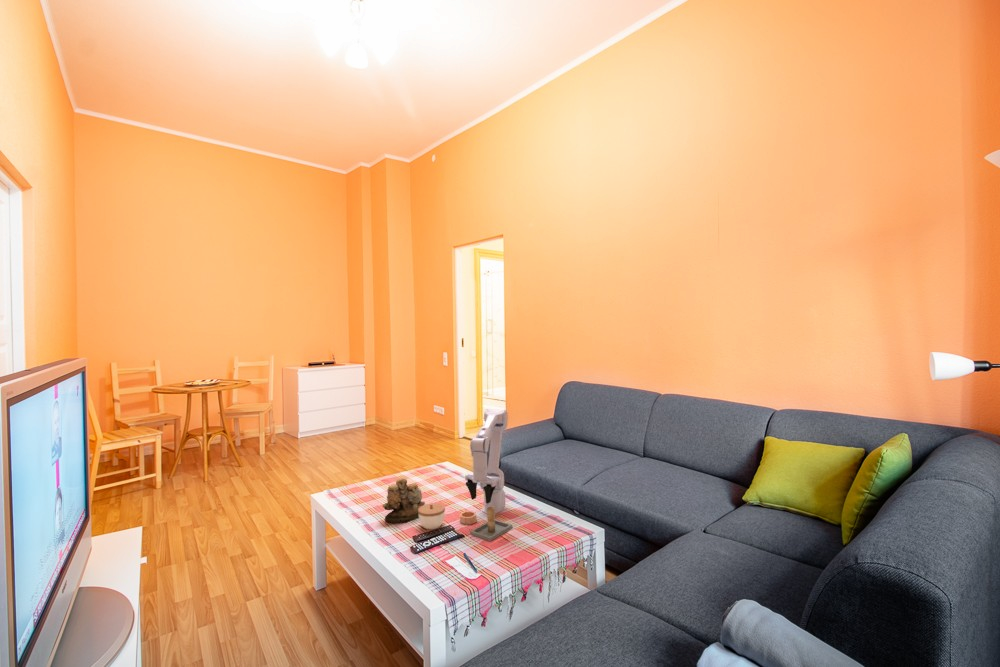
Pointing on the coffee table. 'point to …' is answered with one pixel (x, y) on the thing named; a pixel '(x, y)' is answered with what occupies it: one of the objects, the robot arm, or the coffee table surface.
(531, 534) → the coffee table surface
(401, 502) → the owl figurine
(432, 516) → the lidded jar
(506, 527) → the tray
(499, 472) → the robot arm
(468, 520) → the cup
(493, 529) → the dowel
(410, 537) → the coffee table surface
